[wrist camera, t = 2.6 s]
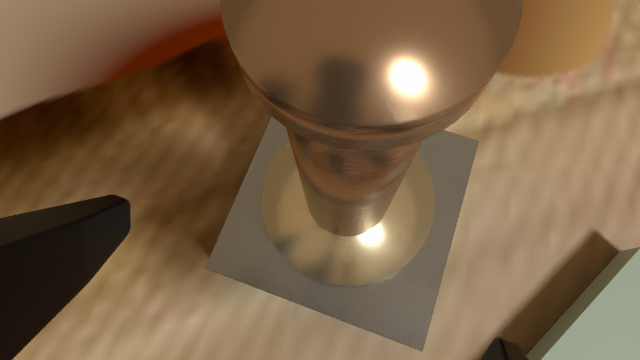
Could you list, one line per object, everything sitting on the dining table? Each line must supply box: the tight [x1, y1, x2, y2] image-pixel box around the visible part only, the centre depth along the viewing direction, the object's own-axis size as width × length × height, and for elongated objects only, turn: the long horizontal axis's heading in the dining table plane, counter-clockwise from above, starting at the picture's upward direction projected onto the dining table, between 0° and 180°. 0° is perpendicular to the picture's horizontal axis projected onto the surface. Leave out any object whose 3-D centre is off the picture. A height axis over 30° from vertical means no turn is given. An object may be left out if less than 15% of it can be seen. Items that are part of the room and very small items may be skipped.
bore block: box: [205, 116, 479, 351], centre depth 20 cm, size 10×10×3 cm
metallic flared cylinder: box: [221, 0, 522, 286], centre depth 14 cm, size 8×8×16 cm
